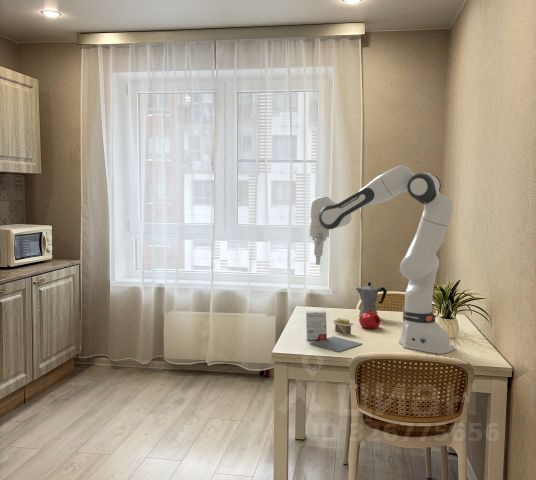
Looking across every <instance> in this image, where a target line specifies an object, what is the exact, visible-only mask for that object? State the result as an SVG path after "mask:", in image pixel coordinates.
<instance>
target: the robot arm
mask: <svg viewBox="0 0 536 480" xmlns="http://www.w3.org/2000/svg"><path fill="white" fill-rule="evenodd" d="M441 184H442V183H441V180H440V179H439V177H438V176H437V175H435V174H433V173H431V172H419V173H416V174H415V173H414V172H413V171H412V170H411V168H410V167H409V166H407V165H405V164H399V165H398V166H395V167H392V168H390V169H388V170H387V171H384V172H383V173H381V174H379V175H378V176H376V177H375V178H374V179H372V180H371V181H370V182H368V184H366V185H364V186H363V187H361V189H359V190H358V191H357V192H356V193H353V194H352V195H351V196H349V197H347V198H346V199H343V200H342V201H340V202H339V203H338V202H335V201H334V200H333V199H331V198H330V197H329V196H321V197H320V196H319V197H316V198H314V199H313V200H312V202H311V205H310V224H309V237H311V240H312V241H314V244H313V245H314V249H313V250H314V252H313V255H314V256H315V265H318V266H320V265H321V258H322V257H323V253H324V251H323V250H324V244H325V241H326V240H327V238H329V237H330V230H334V229H335V228H336V229H337V228H340V227H341V228H342V227H345V226H347V225H348V224H349V223H350V222H351V220H352V213H354V212H356V211H358V210H359V209H361V208H364V207H366V206H370V205H371V206H372V205H377V204H378V205H379V204H382V203H385V202H387V201H390V200H392V199H394V198H395V197H397V196H398V195H400V194H401V193H404V192H408V194H409V195H410V197H412V198H413V199H414V200H416V201H417V202H419V203H421V205H423V211H422V215H421V217H420V220H419V222H418V227H417V230H416V232H415V235H414V237H413V239H412V240H411V244H410V245H409V246H408V249H407V250H406V254H405V255H404V257H403V258H402V260H401V262H400V264H399V272H400V274H401V275H402V277H404V278H405V279H407V280H408V284H407V287H406V289H405V295H404V309H403V312H402V313H403V314H402V321H403V325H402V330H401V335H400V339H399V341H398V342H399V345H402V348H404V349H407V350H413V351H414V350H415V351H419V352H425V353H430V354H436V353H437V355H442V354H448V353H450V352H454V350H455V349H456V346H455V344H451V343H450V337H449V334H448V332H447V331H446V330H445V329H444V328H443V327H442V326H441V325H440V324H438V322H437V321H436V318H437V317H438V314H434V313H433V296H434V295H433V294H434V293H433V292H434V288H435V283H436V279H437V274H438V270H439V267H440V260H439V257H438V256H437V255H436V254H437V253H438V251H439V249H440V247H441V246H442V245H443V242H444V238H445V236H446V233H447V230H448V228H449V227H448V226H449V224H450V220H451V217H452V211H453V201H452V199H451V198H450V197H449V196H447V195H445V194H443V193H441V192H440V191H441V187H442V185H441Z"/></svg>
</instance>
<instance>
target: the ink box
mask: <svg viewBox="0 0 536 480" xmlns="http://www.w3.org/2000/svg"><path fill="white" fill-rule="evenodd" d="M305 318H306V319H305V321H306V324H305V325H306V329H305V330H306V341H320V340H327V338H328V333H327V311H326V310H306V313H305Z"/></svg>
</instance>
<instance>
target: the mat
mask: <svg viewBox="0 0 536 480" xmlns="http://www.w3.org/2000/svg"><path fill="white" fill-rule="evenodd" d="M309 345H311V346H314V345H315V347H318V346H319V347H318V348H321V347H323V348H322V349H325V348H326V350H329V349H330V350H329V351H332V350H333V351H332V352H336V353H341V351H342V352H344V351H346V350H347V351H348V350H349V349H353V348H355V347H356V348H357V347H359V346H363V343H361V342H357V341H353V340H350V339H345V338H342V337H337V336H335V335H334V336H331V337H327V340H315V341H314V342H310V343H309Z"/></svg>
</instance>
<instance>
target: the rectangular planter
mask: <svg viewBox="0 0 536 480" xmlns="http://www.w3.org/2000/svg"><path fill="white" fill-rule="evenodd" d="M332 321H333V322H332V323H333V324H335V327H334V330H335V331H336V332H338V333H344V334H349V335H351V333H352V327H353V326H354V323H352V322H350V319H345V318H344V319H343V318H340V317H338V318H337V319H335V320H332Z"/></svg>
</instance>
